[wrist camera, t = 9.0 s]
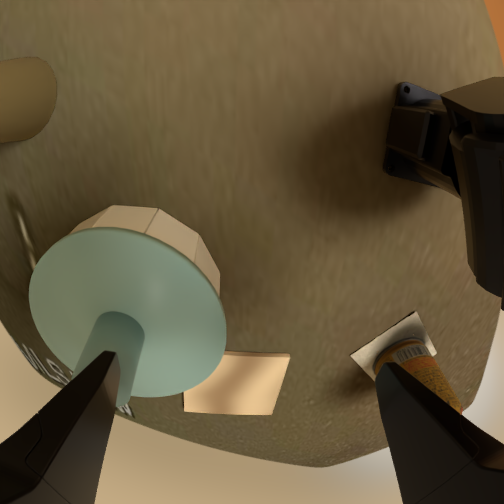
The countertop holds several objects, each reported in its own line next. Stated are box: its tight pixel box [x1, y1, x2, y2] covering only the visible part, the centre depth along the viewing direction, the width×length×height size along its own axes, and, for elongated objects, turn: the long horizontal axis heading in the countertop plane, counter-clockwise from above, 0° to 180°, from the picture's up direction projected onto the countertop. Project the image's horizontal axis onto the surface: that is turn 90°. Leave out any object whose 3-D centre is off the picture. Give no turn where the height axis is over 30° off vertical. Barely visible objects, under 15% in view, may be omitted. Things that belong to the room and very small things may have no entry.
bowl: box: [70, 205, 220, 297], centre depth 20 cm, size 12×12×4 cm
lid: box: [29, 227, 226, 407], centre depth 16 cm, size 13×13×5 cm
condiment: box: [350, 312, 463, 415], centre depth 23 cm, size 7×8×12 cm
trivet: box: [184, 351, 290, 415], centre depth 28 cm, size 9×9×1 cm
